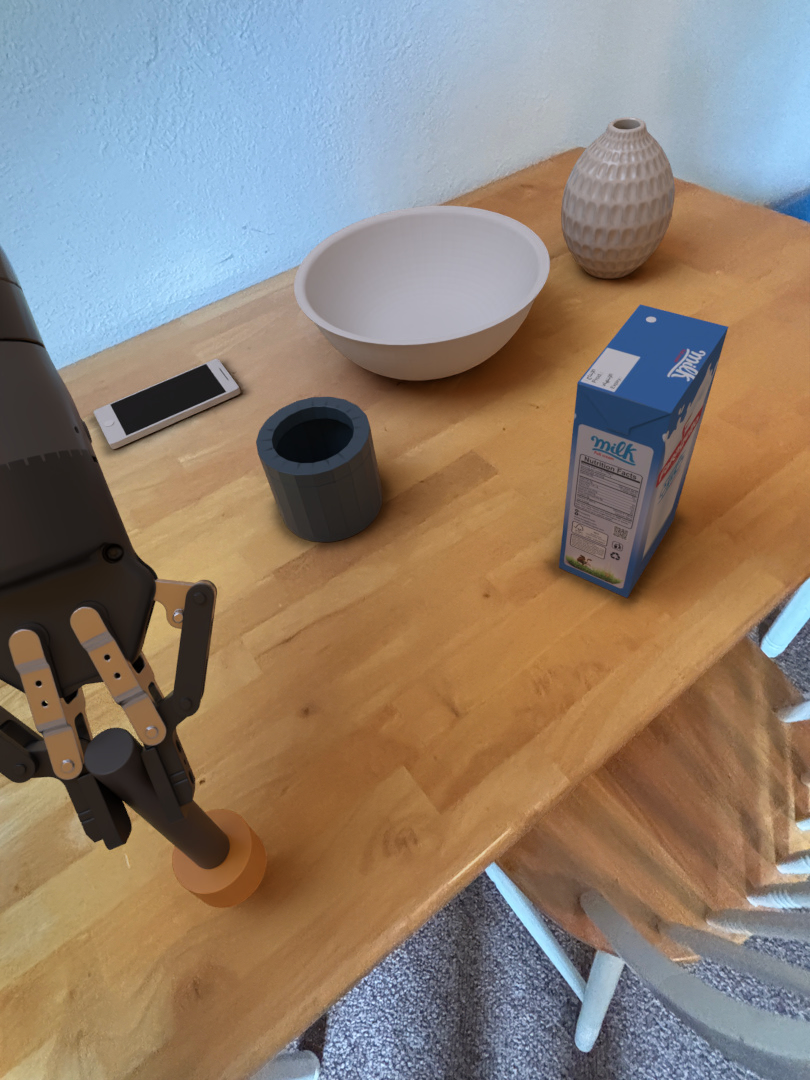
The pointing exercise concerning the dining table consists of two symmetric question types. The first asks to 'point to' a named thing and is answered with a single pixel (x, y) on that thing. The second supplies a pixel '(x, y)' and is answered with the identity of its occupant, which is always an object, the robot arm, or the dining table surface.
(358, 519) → the jar
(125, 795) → the plunger
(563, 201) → the vase
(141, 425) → the smartphone
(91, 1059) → the dining table surface
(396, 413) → the dining table surface
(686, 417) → the milk carton
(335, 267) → the bowl
